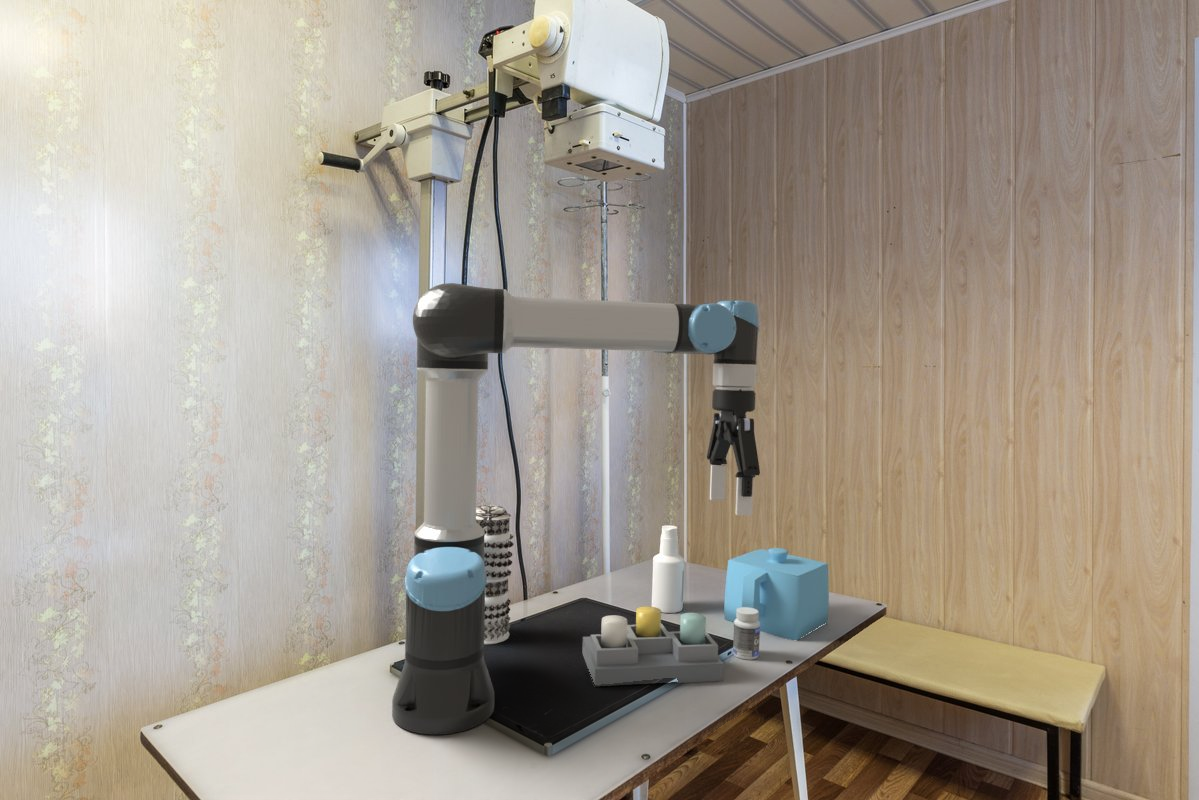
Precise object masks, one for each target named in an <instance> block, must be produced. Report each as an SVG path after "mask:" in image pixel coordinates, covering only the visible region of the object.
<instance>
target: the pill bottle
mask: <svg viewBox="0 0 1199 800" xmlns="http://www.w3.org/2000/svg"><path fill="white" fill-rule="evenodd" d="M736 617H737V619H735V621H734V622H733V643H732V648H733V649H732V653H733V655H734V657H736V658H738V659H742V660H755V659H758V657H759V655H760V637H761V636H760V635H761V634H760V633H761V631H760V623H759V621H758V618H759V612H758V610H756V609H754V608H749V607H741V608H738V609H737V612H736Z"/></svg>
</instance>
